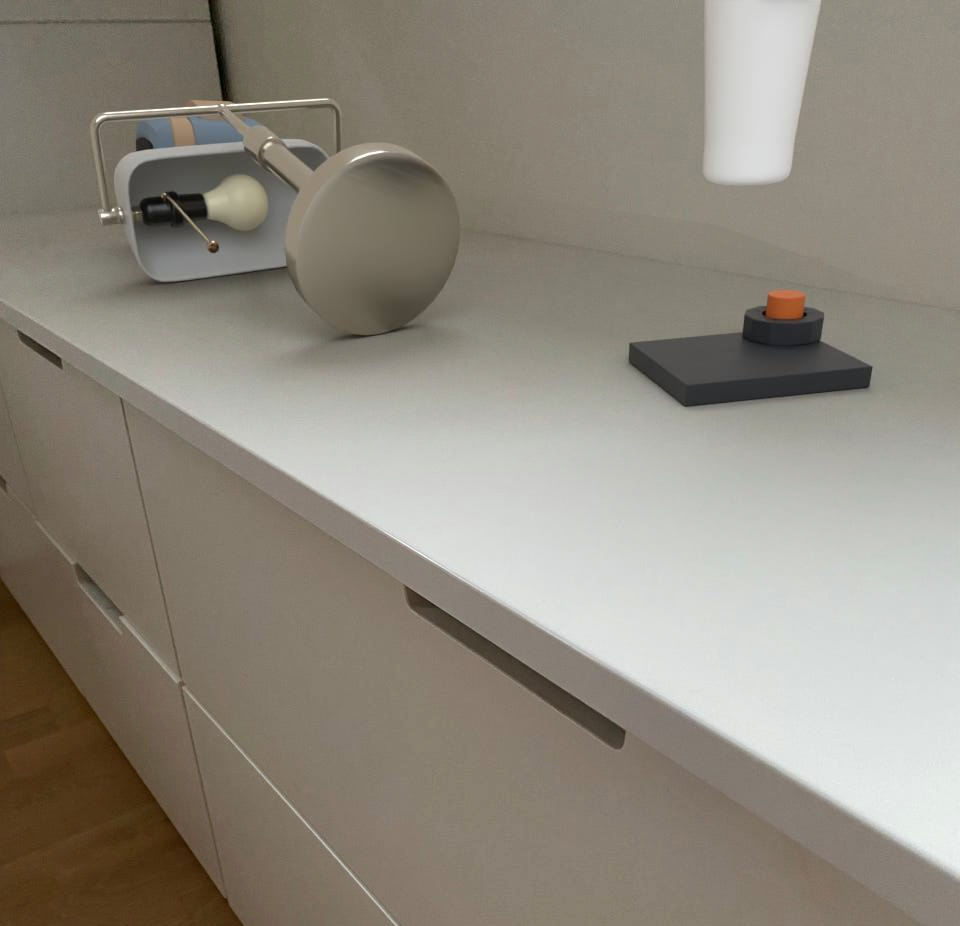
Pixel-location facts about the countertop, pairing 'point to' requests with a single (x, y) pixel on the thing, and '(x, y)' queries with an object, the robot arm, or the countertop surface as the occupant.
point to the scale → (750, 361)
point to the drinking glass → (754, 87)
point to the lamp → (288, 215)
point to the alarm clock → (188, 130)
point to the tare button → (785, 304)
